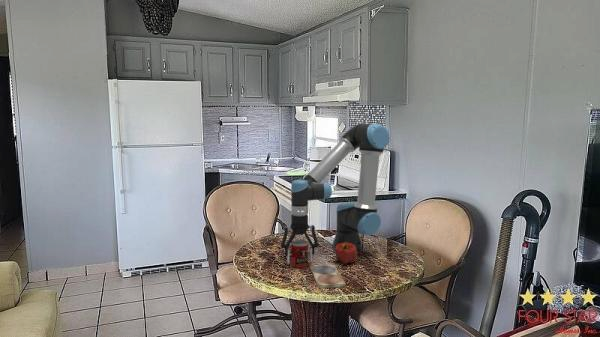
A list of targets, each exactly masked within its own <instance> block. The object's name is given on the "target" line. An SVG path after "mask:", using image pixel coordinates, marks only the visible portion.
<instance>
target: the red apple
mask: <svg viewBox="0 0 600 337" xmlns="http://www.w3.org/2000/svg"><path fill="white" fill-rule="evenodd" d="M334 252H335V257H336V259H337V261H338V262H340V263H343V264H345V265H347V264H353V263H354V262H355V261H356V259H357V257H358V256H357V255H358V250H357V249H356V246H355V245H353V244H351V243H348V242H344V243H341V244H338V245H337V246H336V248H334Z"/></svg>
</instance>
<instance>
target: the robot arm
mask: <svg viewBox="0 0 600 337" xmlns="http://www.w3.org/2000/svg"><path fill="white" fill-rule="evenodd" d="M389 142H390V134H389V130H388V129H387V128H386V127H385V125H382V124H379V123H359V124H355V125H354V126H353V127H351V128H350V129H349V130H347V131H346V132H345V133H344V134H343V135H342V136H340V138H339V142H338V143H337V144H336V145H335V146H334V147H332V149H331V150H330V151H329V152H328V153H327V154H326V155H325V156H324V157H323V158H322V159H321V160H320V161H319V162H318V163H317V164H316V165H315V166H314V167H313V168H312V169H311V170H310V171H309V172H308V174H307V175H305V177H303V178H299V179H296V180H293V181H292V182H291V189H290V191H291V192H290V195H291V197H290V198H291V201H290V202H291V207H290V208H291V210H290V212H291V216H290V218H291V224H290V225H289V226H287V225H285V226H284V232H283V236H282V240H281V243H280V248H281V249H284V256H285V257H286V260H287V261H286V263H287V264H290V248H289V247H291V242H292V241H294V238H295V237H296V236H299V235H300V236H303V235H304V236H305V238H306V241H307V242H308V244H309V245H310V246H309V262H310V263H313V256H314V255H315V248H317V247H319V242H318V238H317V235H316V232H315V230H316V227H315V225H314V224H312V225H309V215H308V214H309V202H310V201H317V200H318V201H319V200H326V199H330V198H331V197H332V193H333V188H332V186H331V184H330V183H328V182H324V180H325V179H326V178H327V177H328V175H330V174H331V172H333V170H334V169H336V167H338V165H340V164H341V162H342V161H343V160H344V159H345V158H346V157H347V156H348V155H349V154H350V153H353V152H355V151H356V150H357V149H358V151H359V153H361V158H360V169H359V181H358V189H357V199H356V200H357V201H356V202H355V203H354V202H350V203H349V202H348V203H340V204H338V205H337V207H336V233H335V236H334V239H333V242H332V243H333V244H332V245H333V246H332V247H333V248H334V249H335V248H336V246H337V245H338V244H341V243H344V242H348V243H351V244H353V245H355V246H356V249H357V251H359V250H361V249H362V248H363V242H362V238H361V236H360V235H365V236H371V235H374V234H376V232H378V230H379V228H380V227H381V223H382V221H381V220H382V219H381V216H380V215H379V214H378V207H377V205H376V204H375V203H376V192H377V191H376V190H377V185H378V184H377V183H378V175H379V174H378V173H379V163H380V156H381V155H382V154H383V153H384V149H385V148H386V147H387V145H389ZM308 229H309V230H310V232H311V235H312V238H313V242H314V243H313V242H312V240H311V238H310V236H309V235H308V233H307V231H308ZM290 230H291V231H292V232H291V234H290V235H289V238H288V239H287V236H288V234H289V233H288V232H290Z"/></svg>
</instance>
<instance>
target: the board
mask: <svg viewBox="0 0 600 337" xmlns="http://www.w3.org/2000/svg"><path fill="white" fill-rule="evenodd" d="M309 270H310V272H311V274H312V277H313V278H314V280H315V283H316V285H317V287H318V288H319V289H329V288H346V287H347V283H346V281H345V280H344V278H343V277H342V275H341V274H340V273H339V271H338V269H337V267H336V266H335V265H334V264H333V265H331V264H329V265H328V264H327V265H324V264H323V265H315V266H314V265H310V266H309Z"/></svg>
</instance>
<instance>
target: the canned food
mask: <svg viewBox="0 0 600 337" xmlns="http://www.w3.org/2000/svg"><path fill="white" fill-rule="evenodd" d="M290 248H291V249H290V252H291V253H290V258H291V260H290V262H291V263H290V264H291V267H292V268H294V269H304V268H307V267H308V265H309V262H308V261H309V241H308V240H305V239H296V240H292V242H291V244H290Z"/></svg>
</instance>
